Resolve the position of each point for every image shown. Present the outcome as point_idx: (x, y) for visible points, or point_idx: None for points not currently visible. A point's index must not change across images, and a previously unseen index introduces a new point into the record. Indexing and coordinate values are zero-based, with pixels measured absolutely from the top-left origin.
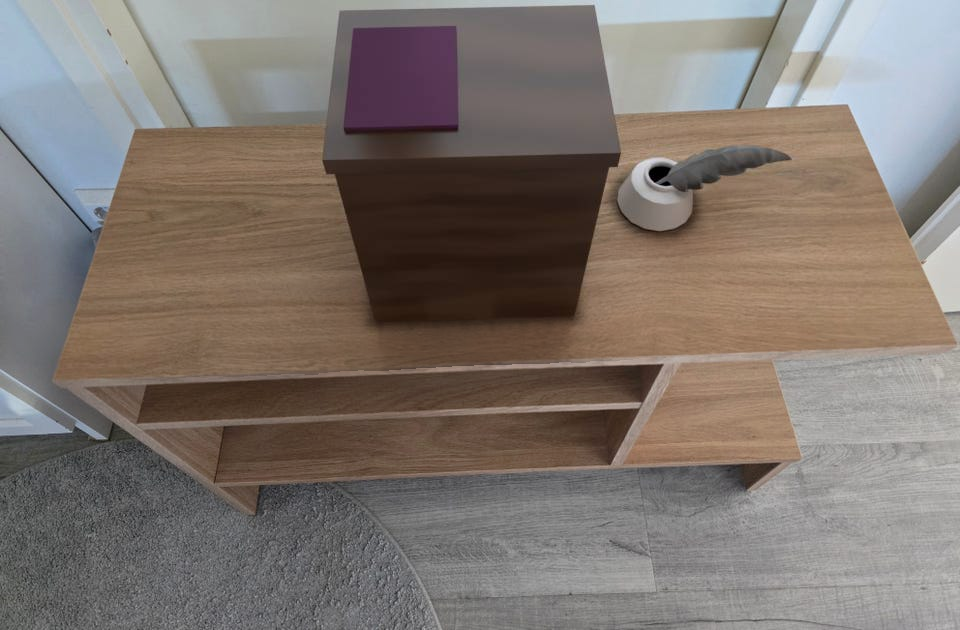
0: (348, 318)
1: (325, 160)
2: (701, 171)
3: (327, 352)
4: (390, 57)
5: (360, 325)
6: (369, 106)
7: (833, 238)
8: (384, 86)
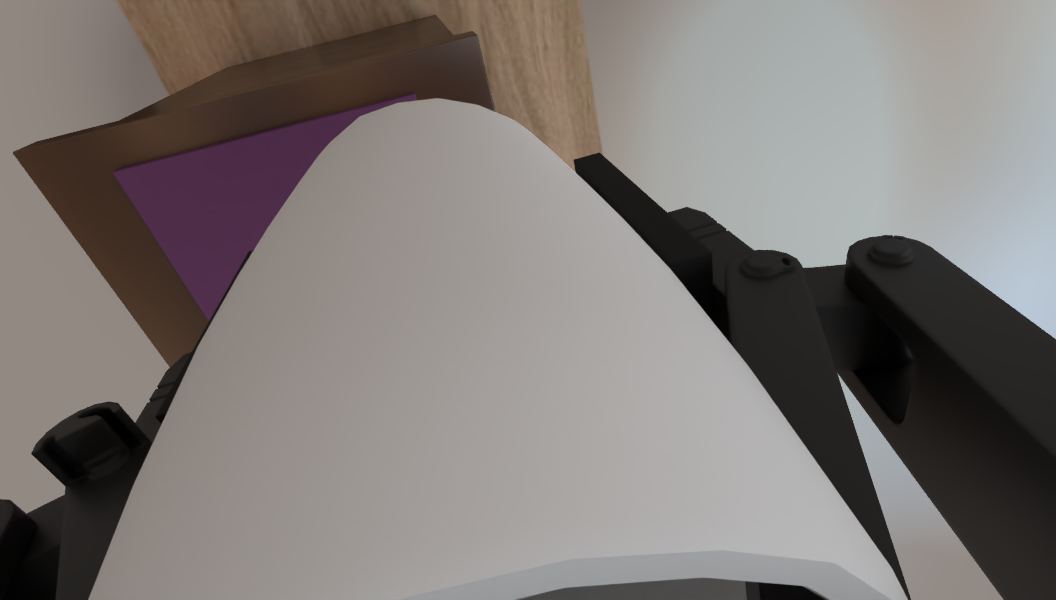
0: (214, 24)
1: (18, 158)
2: None
3: (144, 8)
4: None
5: (211, 46)
6: (197, 202)
7: None
8: (264, 213)
